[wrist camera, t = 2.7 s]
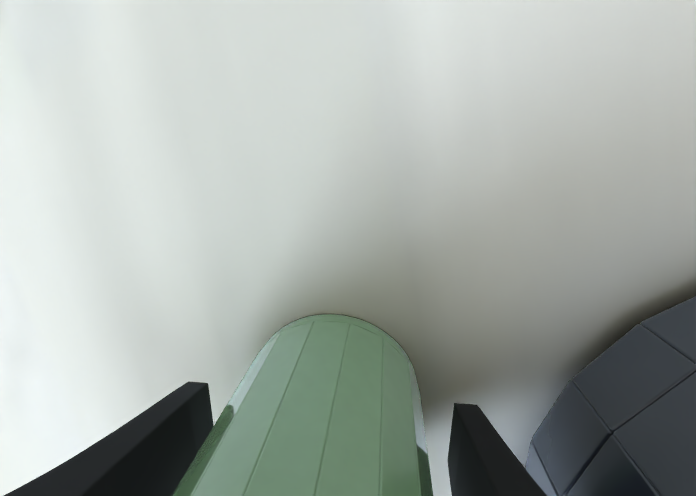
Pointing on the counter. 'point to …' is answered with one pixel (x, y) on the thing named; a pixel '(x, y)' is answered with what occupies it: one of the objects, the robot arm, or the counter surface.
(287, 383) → the green cup
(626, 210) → the counter surface
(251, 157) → the counter surface
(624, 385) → the dark bowl
